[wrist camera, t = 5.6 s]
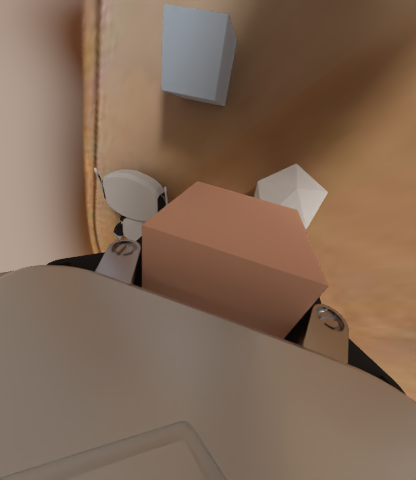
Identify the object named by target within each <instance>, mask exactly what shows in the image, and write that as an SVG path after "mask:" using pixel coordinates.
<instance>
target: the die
mask: <svg viewBox="0 0 416 480" xmlns="http://www.w3.org/2000/svg"><path fill="white" fill-rule="evenodd" d="M327 193H328V192H327V191H326V190H325V189H324V188H323V187H322V186H321V185H319V184H318V183H317V182H316V181H315V180H314V179H313V178H312V177H311V176H310V175H309V174H307V173H306V172H305V171H304V170H303V169H302V168H301V167H300V166H299V165H298V164H294V165H292V166H290V167H288V168H285V169H283V170H281V171H279V172H277V173H274V174H272V175H270V176H268V177H266V178H263V179H261V180H259V181H258V182H257V186H256V190H255V194H254V198H258V199H261V200H265V201H268V202H272V203H275V204H278V205H282V206H285V207H289V208H292V209H296V210H298V213H299V215H300V217H301V220H302V222H303V225H304V227H305V229H307V227H308V225H309V224H310V222H311V220H312V219H313V217H314V215H315V214H316V212H317V210H318V208H319V207H320V205H321V203H322V202H323V200H324V198H325V196H326V195H327Z"/></svg>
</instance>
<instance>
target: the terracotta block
mask: <svg viewBox="0 0 416 480" xmlns="http://www.w3.org/2000/svg"><path fill="white" fill-rule="evenodd" d="M327 287H328V283H327V281H326V279H325V276H324V274H323V271H322V269H321V266H320V264H319V261H318V259H317V257H316V254H315V252H314V249H313V247H312V244H311V242H310V239H309V237H308V235H307V232H306V230H305V227H304V225H303V222H302V220H301V217H300V215H299V213H298V210H296V209H292V208H289V207H285V206H282V205H278V204H275V203H272V202H268V201H265V200H261V199H258V198H254V197H251V196H247V195H244V194H240V193H237V192H234V191H230V190H227V189H223V188H220V187H216V186H213V185H209V184H206V183H203V182H199V181H197V182H195V183H194V184H193V185H192V186H190V187H189V188H188V189H187V190H185V191H184V192H183V193H182V194H180V195H179V196H178V197H177V198H175V199H174V200H173V201H172V202H170V203H169V204H168V205H167V206H165V207H164V208H163V209H162V210H160V211H159V212H158V213H156V214H155V215H154V216H153V217H151V218H150V219H149V220H148V221H146V222H145V223H144V224H143V225H142V288H144V289H147V290H150V291H153V292H155V293H158V294H161V295H164V296H167V297H169V298H172V299H175V300H178V301H181V302H183V303H186V304H189V305H192V306H194V307H197V308H200V309H203V310H205V311H208V312H211V313H214V314H216V315H219V316H222V317H225V318H227V319H230V320H233V321H236V322H238V323H241V324H244V325H247V326H249V327H252V328H255V329H257V330H260V331H263V332H266V333H268V334H271V335H274V336H276V337H279V338H282V339H284V338H285V337H286V335H287V334H288V333H289V332H290V331H291V330H292V328H293V327H294V326H295V325H296V324H297V323H298V321H299V320H300V319H301V318H302V317H303V315H304V314H305V313H306V312H307V311H308V310H309V308H310V307H311V306H312V305H313V304H314V302H315V301H316V300H317V299H318V298H319V297H320V295H321V294H322V293H323V292H324V291H325V290H326V288H327Z"/></svg>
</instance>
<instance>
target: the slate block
mask: <svg viewBox="0 0 416 480" xmlns="http://www.w3.org/2000/svg"><path fill="white" fill-rule="evenodd" d="M236 44H237V40H236V36H235V33H234V30H233V26H232V23H231V20H230V17H229V14H228V13H221V12H214V11H207V10H200V9H193V8H186V7H179V6H172V5H165V4H163V38H162V75H161V90H163V91H165V92H168V93H171V94H173V95H176V96H179V97H181V98H186V99H191V100H195V101H200V102H205V103H210V104H215V105H220V106H225V103H226V98H227V92H228V87H229V82H230V76H231V71H232V65H233V60H234V55H235V49H236Z"/></svg>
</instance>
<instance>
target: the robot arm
mask: <svg viewBox="0 0 416 480" xmlns="http://www.w3.org/2000/svg"><path fill="white" fill-rule="evenodd" d="M0 480H416V402H415V401H414V400H412V399H411V398H409V397H408V396H406V394H405V393H404V391H403V390H402V389H401V387H400V386H399V385H398V384H397V383H396V382H395V381H394V380H393V379H392V378H391V377H390V376H389V375H388V374H387V373H385V372H384V371H383V370H382V369H381V368H380V367H379V366H378V365H377V364H376V363H375V362H374V361H373V360H371V359H370V358H369V357H368V356H367V355H366V354H365V353H364V352H363V351H362V350H361V349H360V348H359V347H358V346H356V345H355V344H354V343H353V342H352V341H351V340H350V339H349V328H348V324H347V323H346V321H345V319H344V318H343V317H342V316H341V315H340V314H339V313H338V312H337V311H336V310H334V309H333V308H331V307H329V306H327V305H324V304H321V301H320V298H318V299H317V300H316V301H315V302H314V304H313V305H312V306H311V307H310V308H309V310H308V311H307V312H306V313H305V314H304V315H303V317H302V318H301V319H300V320H299V321H298V323H297V324H296V325H295V326H294V327H293V328H292V330H291V331H290V332H289V333H288V334H287V335H286V337H285V338H284V339H282V338H279V337H276V336H274V335H271V334H268V333H266V332H263V331H260V330H257V329H255V328H252V327H249V326H247V325H244V324H241V323H238V322H236V321H233V320H230V319H227V318H225V317H222V316H219V315H216V314H214V313H211V312H208V311H205V310H203V309H200V308H197V307H194V306H192V305H189V304H186V303H183V302H181V301H178V300H175V299H172V298H169V297H167V296H164V295H161V294H158V293H155V292H153V291H150V290H147V289H144V288H142V236H141V237H140V238H139V239H138V240H136V241H134V240H130V239H121V240H117V241H114V242H113V243H111V244H110V245H109V246H108V248H107V250H106V252H104V253H97V254H91V255H84V256H78V257H71V258H65V259H60V260H55V261H53V262H51V263H48V264H47V265H38V266H30V267H25V268H21V269H18V270H15V271H10V272H3V273H0Z"/></svg>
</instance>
